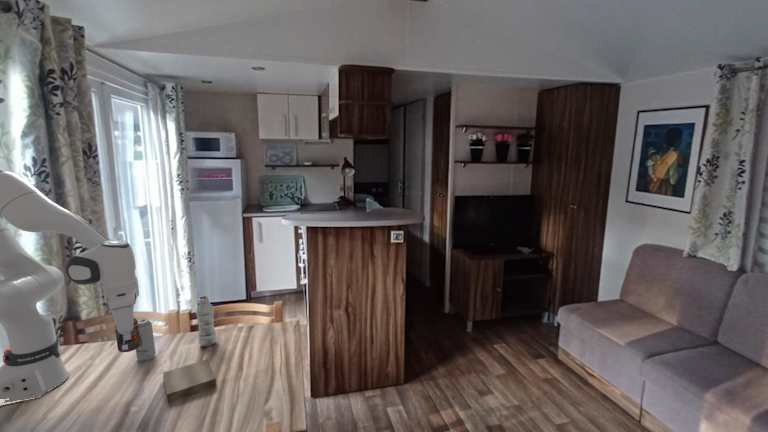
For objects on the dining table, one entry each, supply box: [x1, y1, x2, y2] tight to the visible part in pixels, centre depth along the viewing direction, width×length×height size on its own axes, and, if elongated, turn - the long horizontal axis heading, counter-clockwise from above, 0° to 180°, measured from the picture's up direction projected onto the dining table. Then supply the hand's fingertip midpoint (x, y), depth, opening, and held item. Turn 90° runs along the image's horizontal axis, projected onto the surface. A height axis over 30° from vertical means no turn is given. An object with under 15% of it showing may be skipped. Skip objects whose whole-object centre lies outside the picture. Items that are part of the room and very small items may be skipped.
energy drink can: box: [135, 317, 156, 363], centre depth 140 cm, size 6×6×15 cm
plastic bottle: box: [195, 295, 218, 347], centre depth 149 cm, size 6×7×20 cm
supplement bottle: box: [114, 318, 140, 353], centre depth 116 cm, size 6×6×11 cm
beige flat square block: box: [162, 359, 217, 404], centre depth 125 cm, size 14×14×3 cm
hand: (127, 334), depth 117 cm, fingers closed on supplement bottle, 6 cm apart
